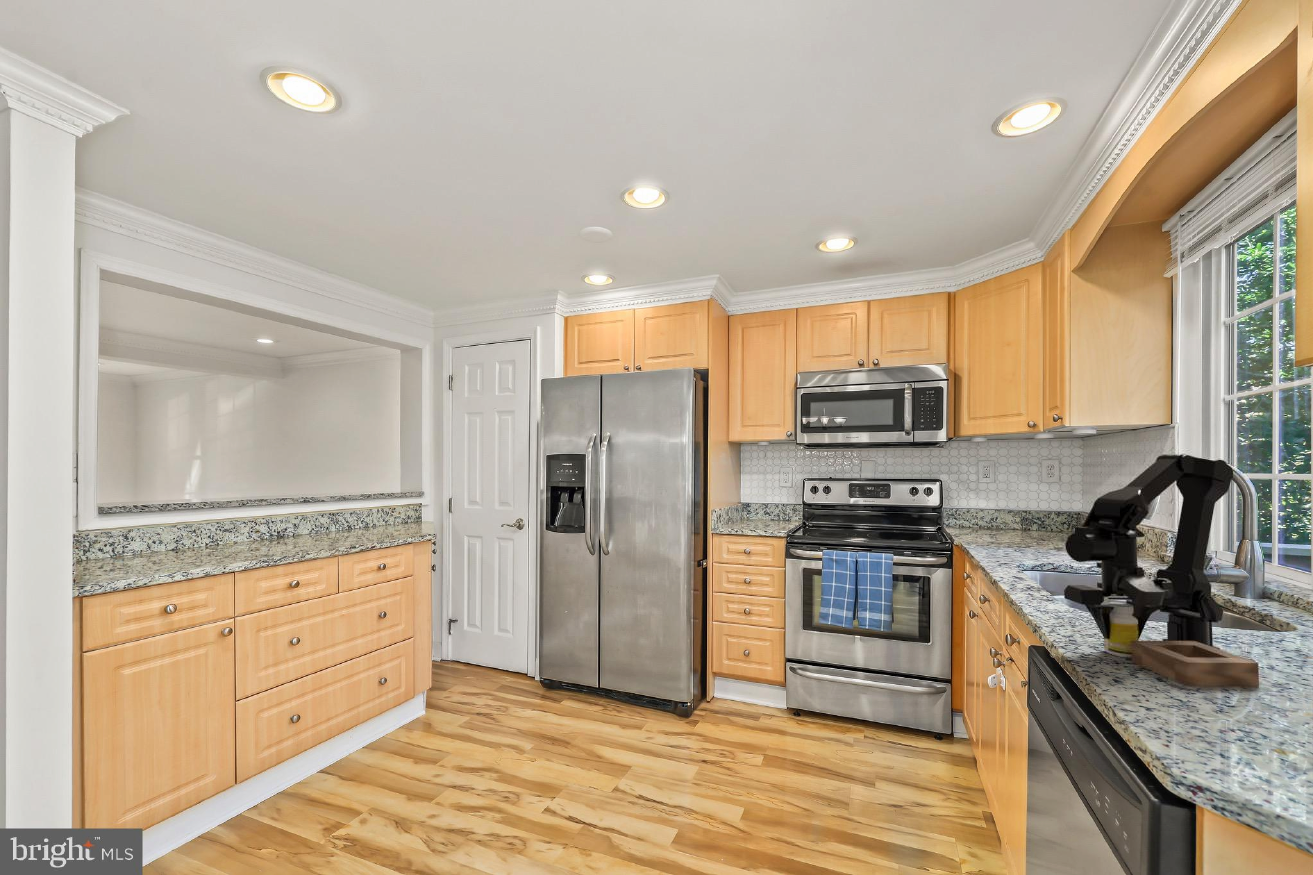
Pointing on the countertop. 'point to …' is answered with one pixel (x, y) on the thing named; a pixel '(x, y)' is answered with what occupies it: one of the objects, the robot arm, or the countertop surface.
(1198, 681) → the socket block
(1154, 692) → the countertop surface
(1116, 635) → the supplement bottle
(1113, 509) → the robot arm
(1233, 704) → the countertop surface
